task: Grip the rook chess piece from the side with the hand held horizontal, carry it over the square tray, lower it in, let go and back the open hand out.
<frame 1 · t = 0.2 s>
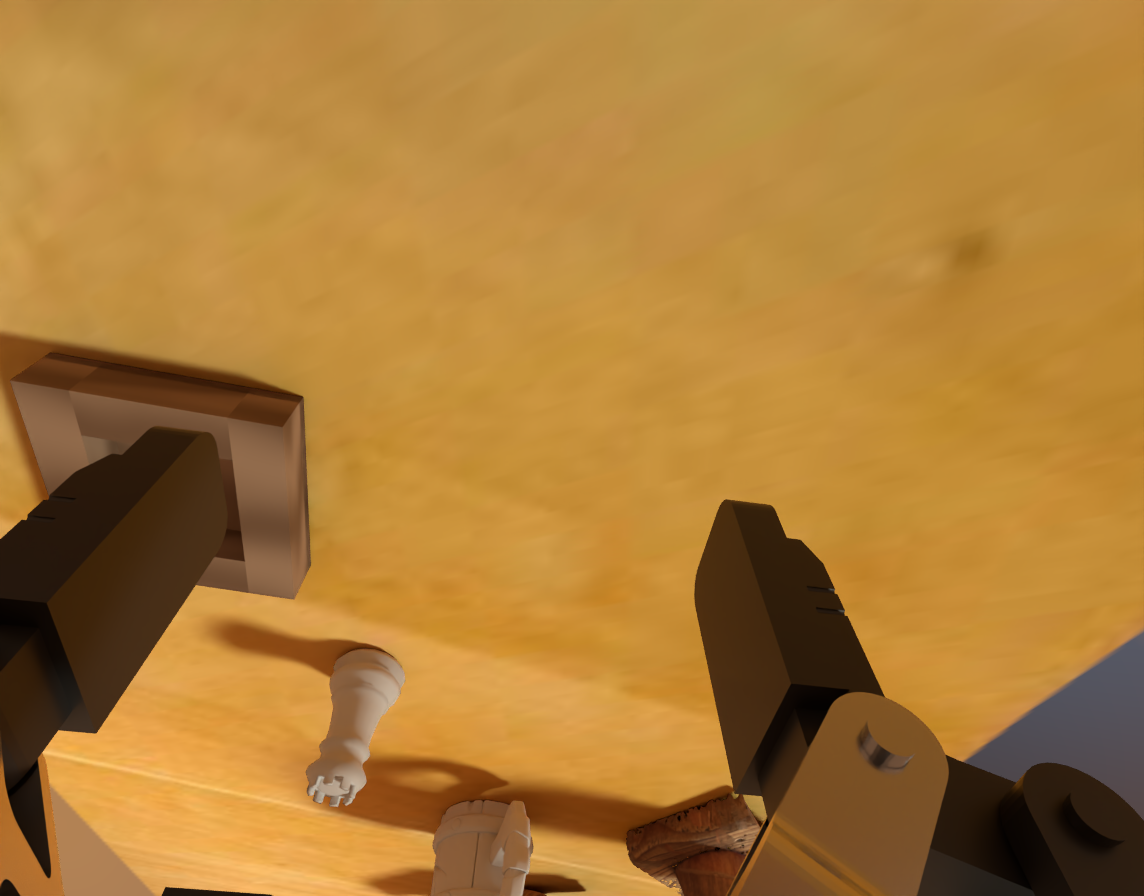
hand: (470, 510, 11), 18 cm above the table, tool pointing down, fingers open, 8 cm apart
square tray: (194, 470, 33), on the table
rook chess piece: (372, 664, 42), on the table
wooden carving: (520, 888, 60), on the table
bird sculpture: (717, 835, 54), on the table
mug: (496, 808, 52), on the table
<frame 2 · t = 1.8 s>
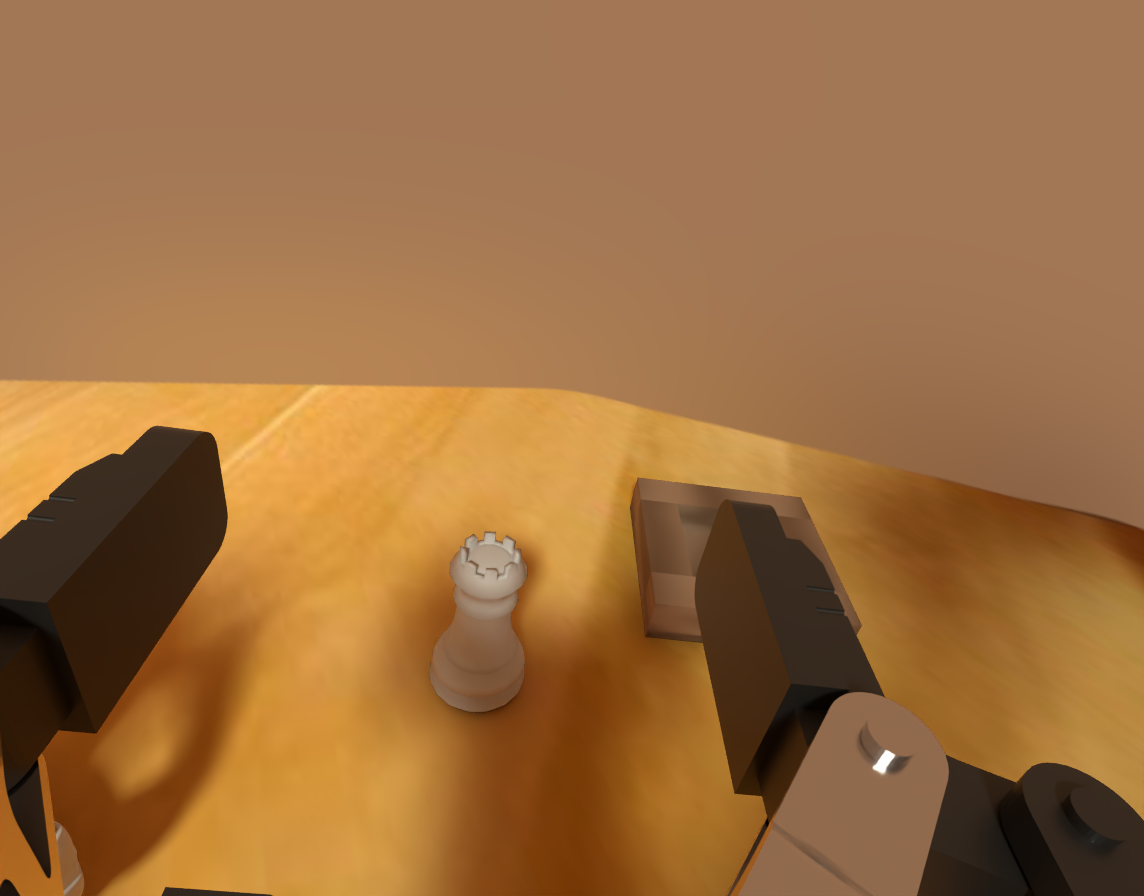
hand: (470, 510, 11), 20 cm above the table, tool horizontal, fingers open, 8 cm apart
square tray: (726, 574, 40), on the table
rook chess piece: (476, 679, 32), on the table
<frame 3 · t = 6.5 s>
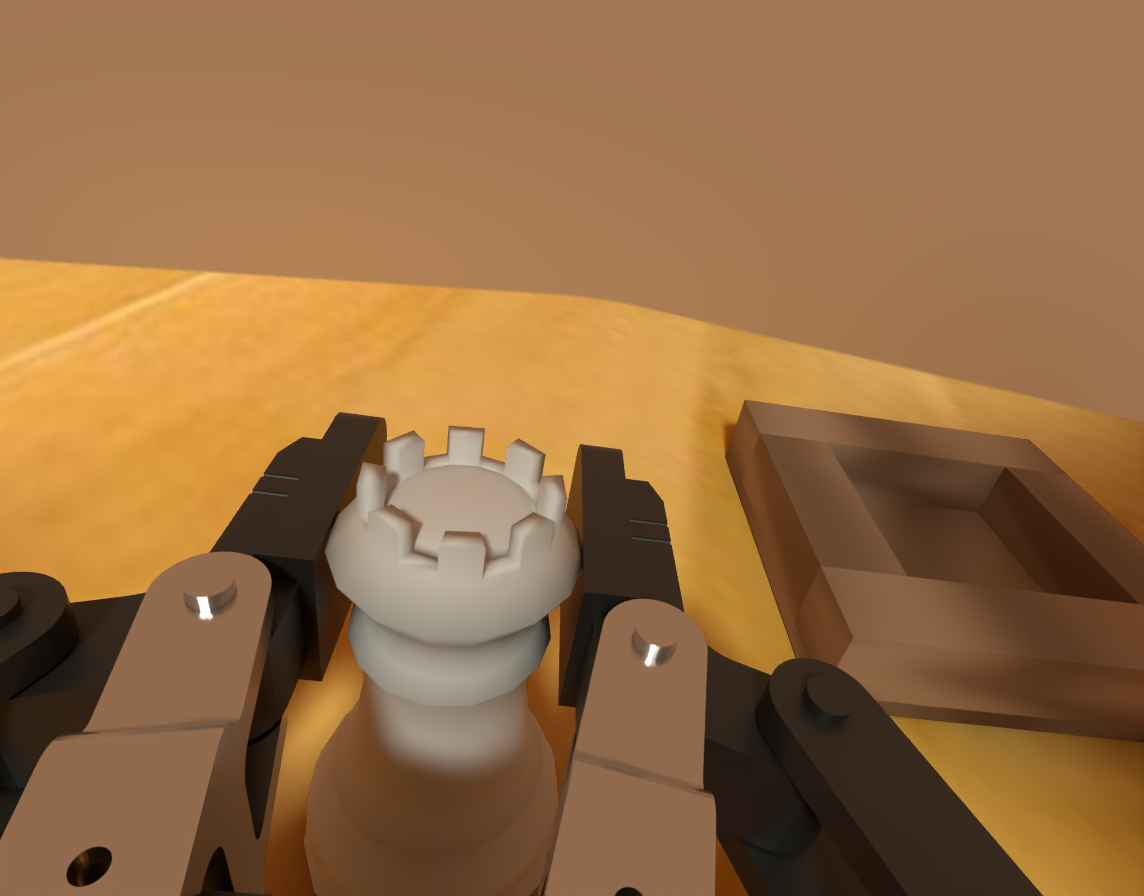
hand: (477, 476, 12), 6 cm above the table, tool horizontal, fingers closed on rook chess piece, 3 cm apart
square tray: (927, 574, 21), on the table
rook chess piece: (433, 832, 12), on the table, touching gripper
when the fingers open (7 cm above the table, at t = 11.2 s): rook chess piece stays where it is, resting on square tray.
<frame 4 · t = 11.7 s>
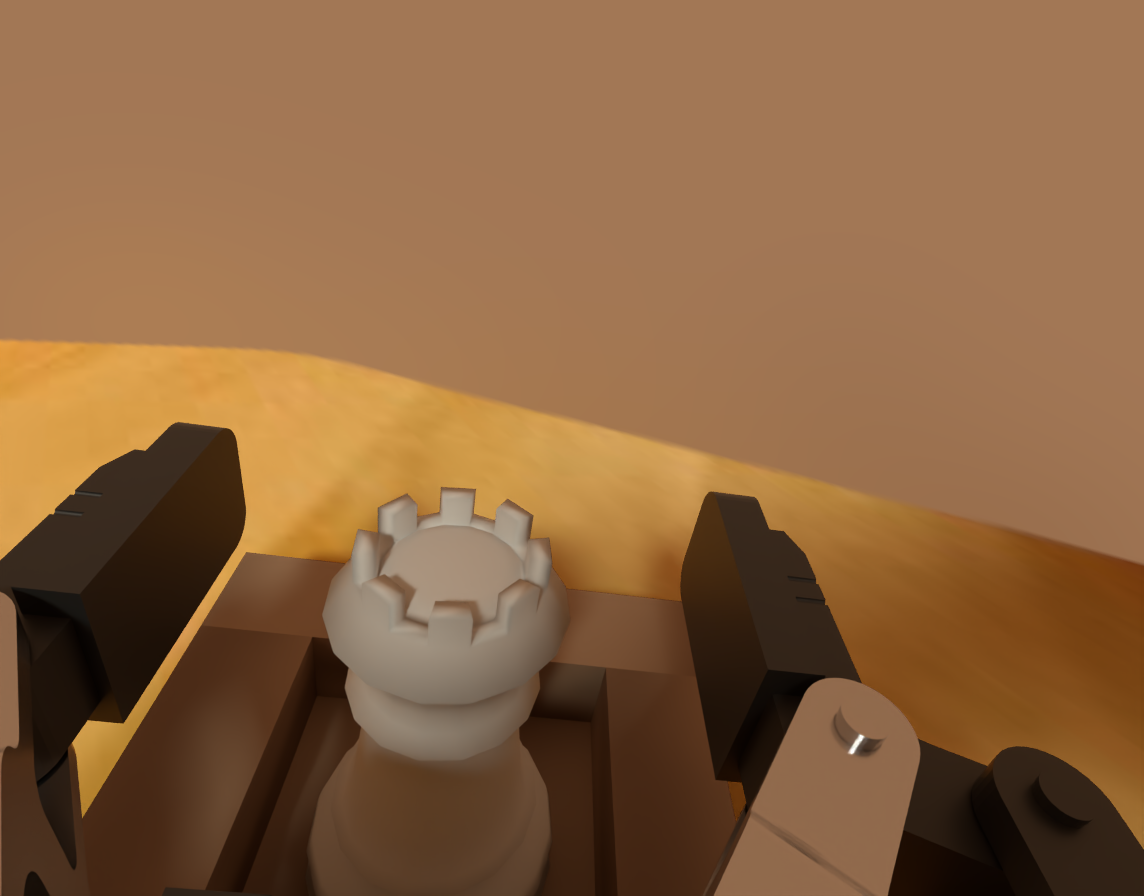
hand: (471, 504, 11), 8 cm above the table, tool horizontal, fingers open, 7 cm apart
square tray: (430, 865, 13), on the table
rook chess piece: (431, 864, 13), resting on square tray
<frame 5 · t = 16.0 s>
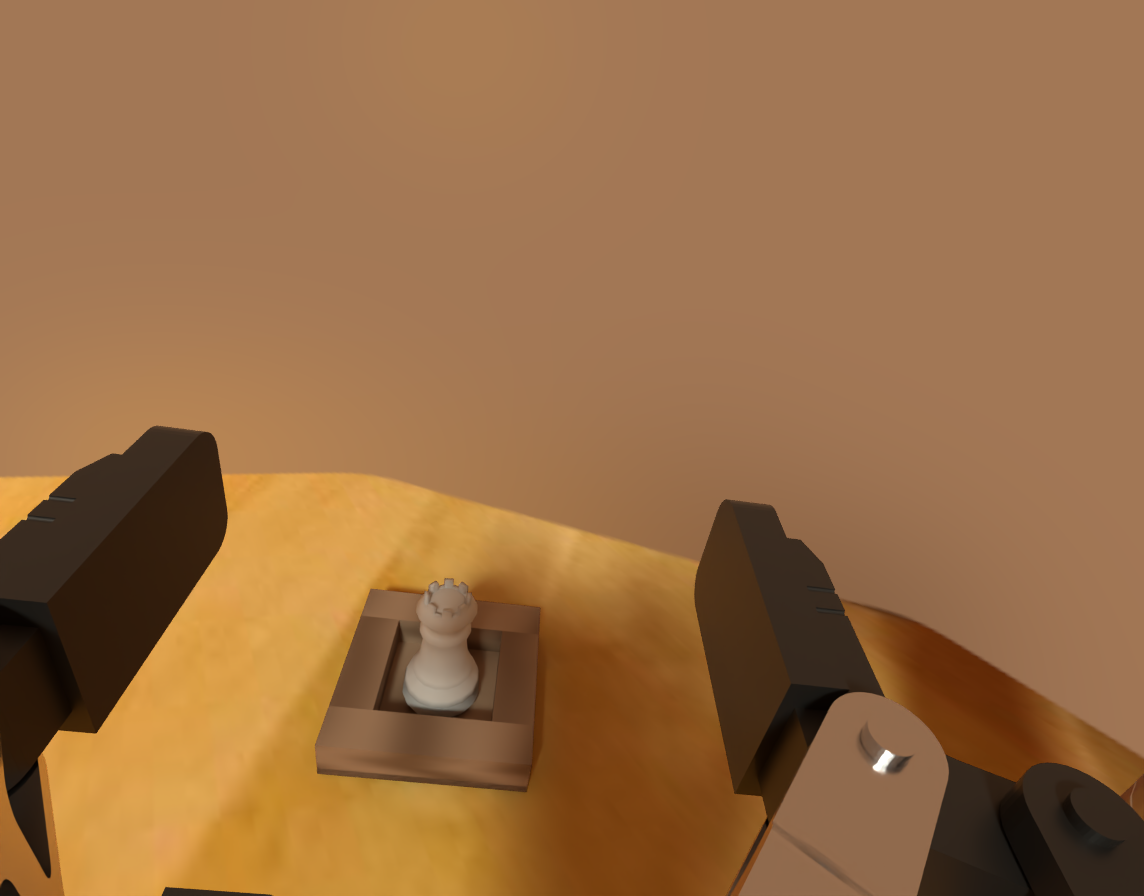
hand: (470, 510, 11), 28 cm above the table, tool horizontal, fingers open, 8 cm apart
square tray: (440, 694, 40), on the table
rook chess piece: (440, 693, 40), resting on square tray
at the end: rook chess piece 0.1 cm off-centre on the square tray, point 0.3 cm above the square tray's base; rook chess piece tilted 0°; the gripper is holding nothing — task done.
